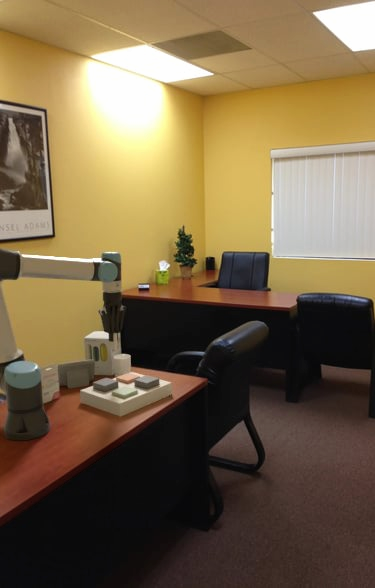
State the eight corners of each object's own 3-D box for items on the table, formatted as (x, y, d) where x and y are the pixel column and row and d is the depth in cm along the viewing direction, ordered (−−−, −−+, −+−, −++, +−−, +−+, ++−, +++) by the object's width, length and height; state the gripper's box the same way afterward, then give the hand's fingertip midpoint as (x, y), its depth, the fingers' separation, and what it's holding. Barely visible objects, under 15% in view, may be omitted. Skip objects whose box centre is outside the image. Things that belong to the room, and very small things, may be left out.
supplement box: (85, 374, 237) (83, 337, 234) (96, 365, 250) (94, 330, 247) (112, 375, 234) (110, 338, 231) (122, 367, 247) (120, 331, 244)
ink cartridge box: (52, 395, 212) (49, 360, 210) (60, 397, 209) (57, 362, 207) (34, 401, 205) (32, 365, 203) (42, 404, 202) (40, 368, 200)
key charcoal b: (147, 395, 202) (146, 383, 201) (134, 391, 206) (134, 379, 206) (159, 390, 207) (159, 378, 206) (147, 386, 212) (146, 375, 211)
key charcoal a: (105, 398, 200) (104, 386, 199) (93, 394, 204) (92, 382, 204) (118, 393, 205) (118, 381, 204) (107, 389, 210) (106, 377, 209)
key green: (124, 407, 193) (124, 395, 192) (112, 403, 198) (111, 391, 197) (138, 402, 198) (137, 389, 198) (125, 398, 203) (125, 386, 202)
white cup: (125, 374, 236) (124, 352, 235) (135, 378, 230) (134, 356, 229) (110, 378, 232) (109, 356, 230) (120, 382, 226) (118, 360, 224)
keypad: (120, 416, 188) (119, 403, 188) (80, 402, 203) (80, 390, 202) (172, 394, 209) (171, 382, 208) (132, 383, 224) (132, 371, 223)
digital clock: (95, 379, 230) (94, 356, 228) (96, 386, 222) (94, 362, 220) (58, 382, 227) (56, 359, 225) (57, 389, 218) (55, 365, 217)
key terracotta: (128, 392, 209) (127, 380, 208) (116, 388, 214) (115, 377, 213) (140, 387, 214) (140, 376, 214) (128, 384, 219) (128, 372, 218)
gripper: (105, 293, 198) (107, 353, 202) (130, 290, 208) (131, 347, 211) (93, 292, 203) (95, 350, 206) (118, 288, 213) (119, 344, 216)
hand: (113, 348), depth 209 cm, fingers closed
